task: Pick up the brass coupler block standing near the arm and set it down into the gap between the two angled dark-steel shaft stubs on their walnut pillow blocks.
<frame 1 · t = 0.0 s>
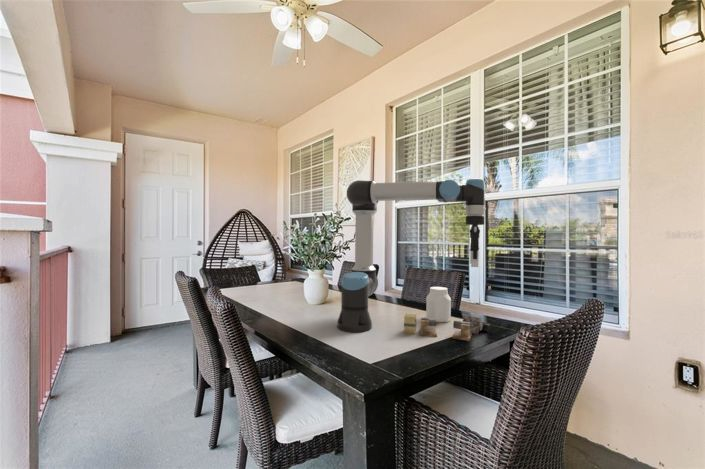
hand: (474, 265, 140), 28 cm above the table, fingers open, 13 cm apart
coupler: (410, 331, 138), on the table
shaft left: (428, 332, 136), on the table
caster wheel: (474, 331, 141), on the table
shaft right: (461, 336, 132), on the table
jar: (438, 319, 158), on the table
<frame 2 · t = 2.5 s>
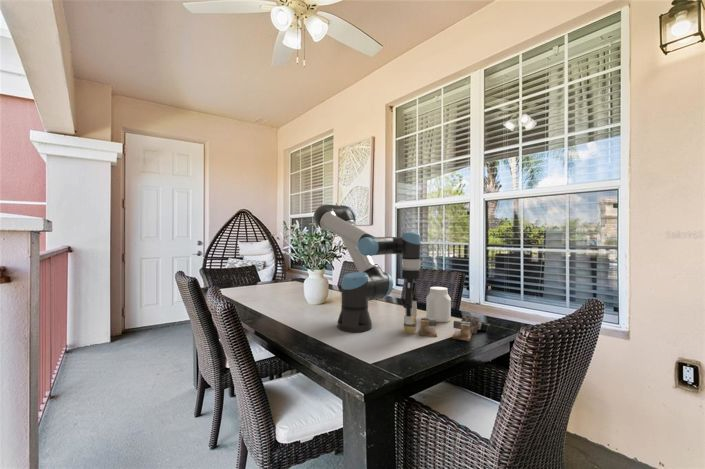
hand: (411, 319, 137), 5 cm above the table, fingers open, 13 cm apart
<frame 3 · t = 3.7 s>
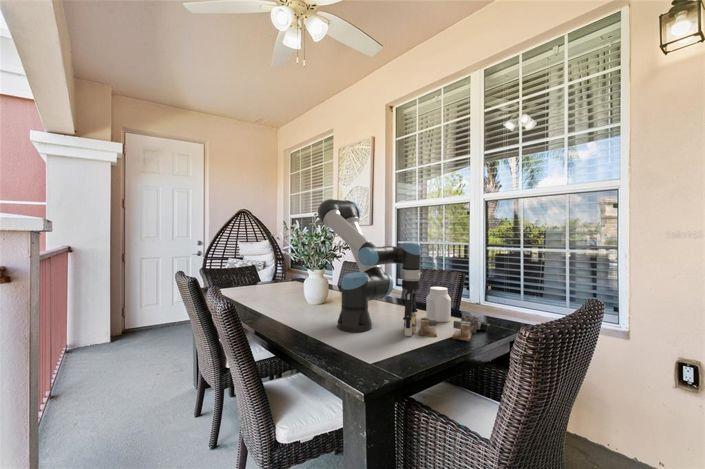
hand: (410, 331, 138), 0 cm above the table, fingers open, 11 cm apart
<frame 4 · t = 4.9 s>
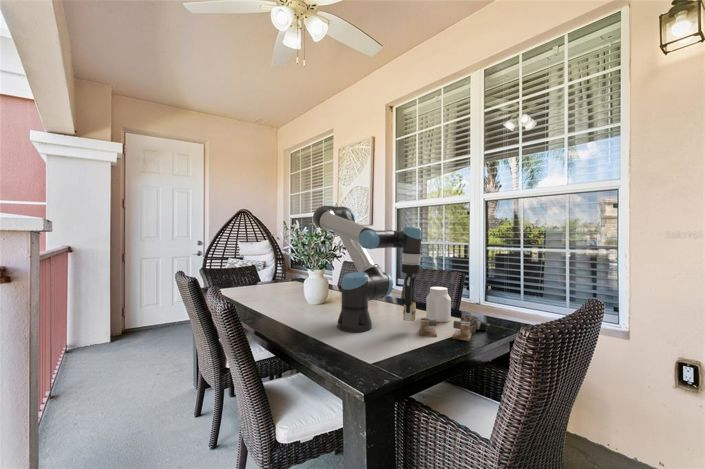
hand: (408, 318, 138), 6 cm above the table, fingers closed on coupler, 5 cm apart
coupler: (409, 319, 138), point 5 cm above the table, touching gripper
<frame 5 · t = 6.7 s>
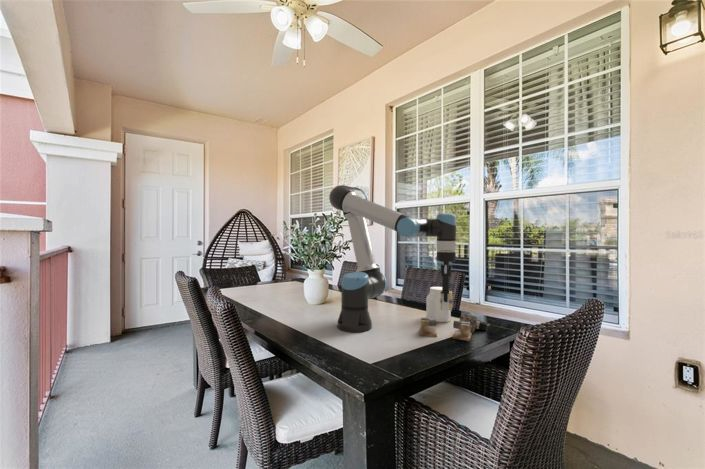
hand: (445, 307, 134), 11 cm above the table, fingers closed on coupler, 5 cm apart
coupler: (446, 308, 134), point 11 cm above the table, touching gripper
when the fingers open (1 cm above the table, at t = 8.8 s): coupler stays where it is, on the table.
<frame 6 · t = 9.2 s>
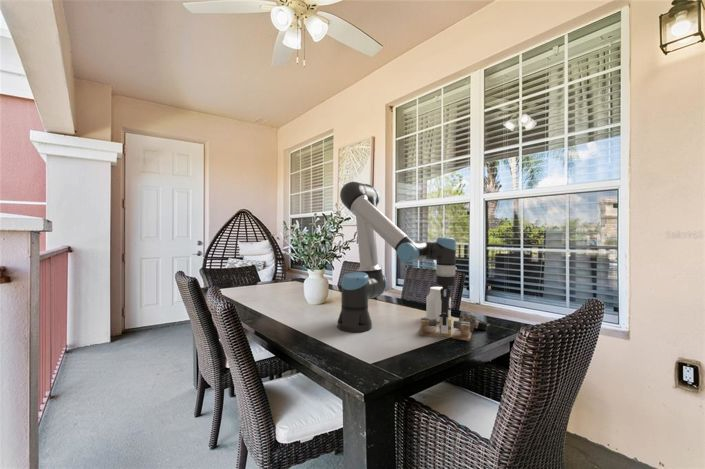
hand: (444, 329, 135), 2 cm above the table, fingers open, 10 cm apart
coupler: (445, 334, 135), on the table
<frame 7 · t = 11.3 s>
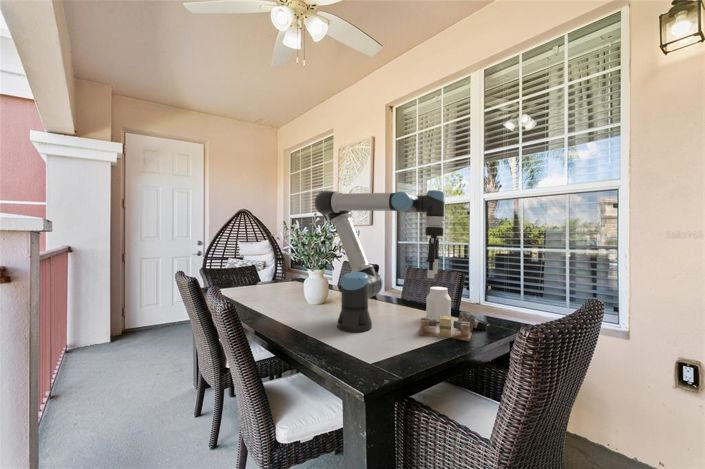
hand: (432, 275, 141), 23 cm above the table, fingers open, 13 cm apart
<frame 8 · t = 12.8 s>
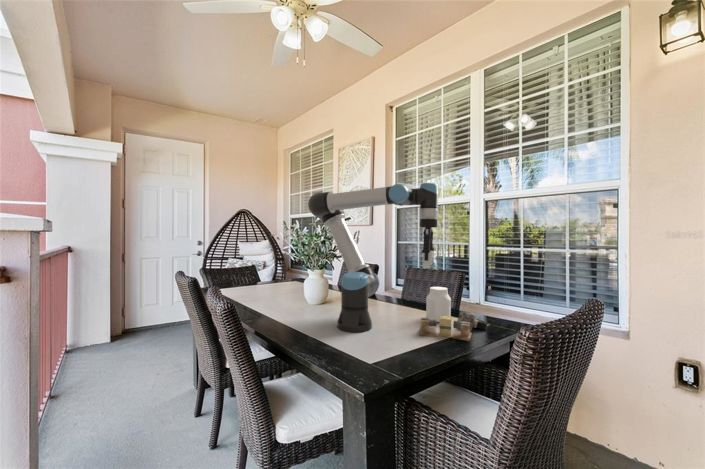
hand: (427, 266, 145), 27 cm above the table, fingers open, 13 cm apart
at the end: coupler 0.2 cm from the target spot, on the table; coupler tilted 0°; the gripper is holding nothing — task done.
